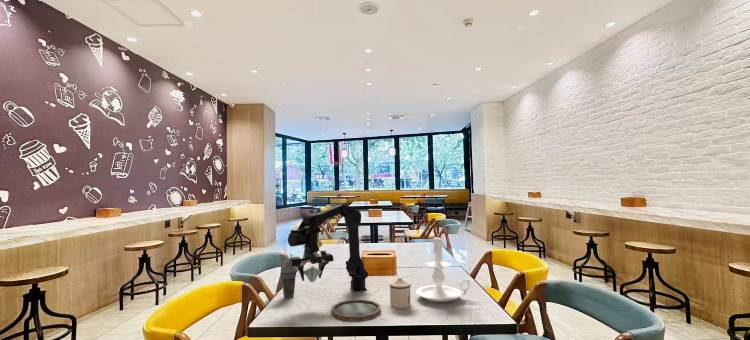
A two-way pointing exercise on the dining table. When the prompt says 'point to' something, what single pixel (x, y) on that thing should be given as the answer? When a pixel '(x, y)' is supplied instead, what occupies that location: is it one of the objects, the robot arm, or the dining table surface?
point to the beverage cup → (288, 280)
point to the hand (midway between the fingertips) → (311, 279)
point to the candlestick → (440, 280)
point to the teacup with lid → (400, 293)
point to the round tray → (356, 310)
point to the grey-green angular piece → (312, 273)
